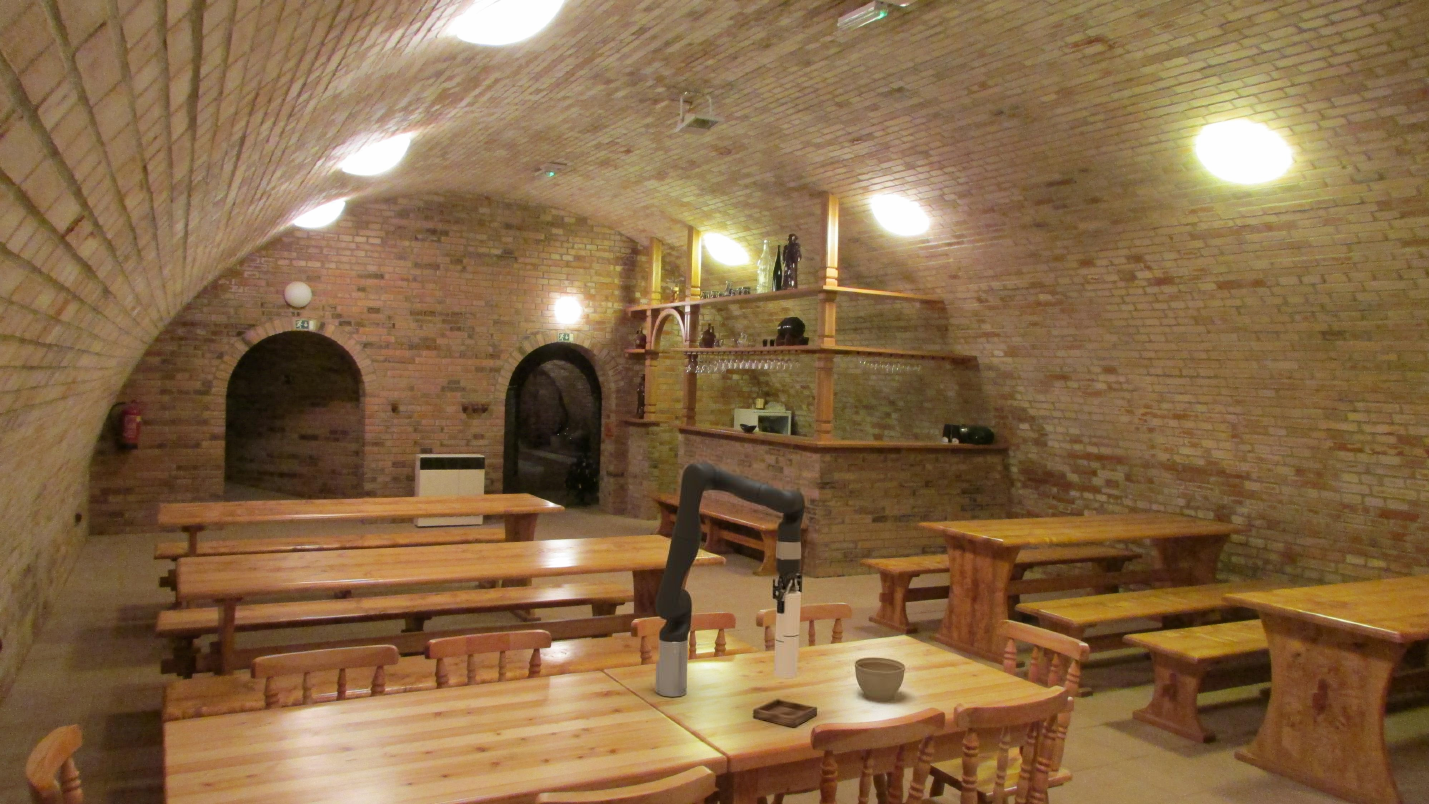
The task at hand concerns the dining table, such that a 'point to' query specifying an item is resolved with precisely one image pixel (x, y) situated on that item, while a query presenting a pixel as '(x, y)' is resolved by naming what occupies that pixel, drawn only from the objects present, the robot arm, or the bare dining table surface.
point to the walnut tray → (785, 712)
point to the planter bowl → (879, 677)
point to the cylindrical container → (788, 637)
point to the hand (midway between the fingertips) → (787, 611)
